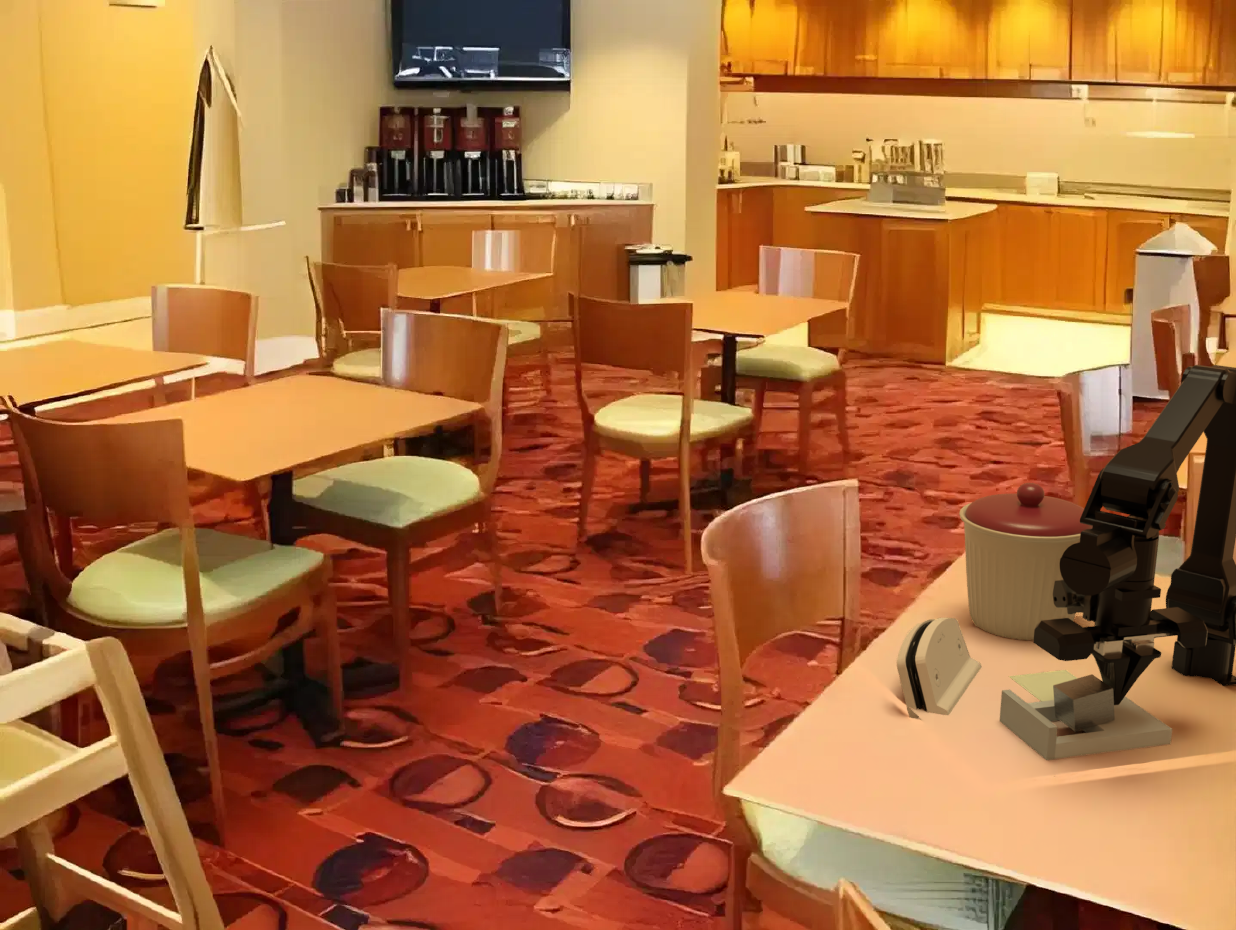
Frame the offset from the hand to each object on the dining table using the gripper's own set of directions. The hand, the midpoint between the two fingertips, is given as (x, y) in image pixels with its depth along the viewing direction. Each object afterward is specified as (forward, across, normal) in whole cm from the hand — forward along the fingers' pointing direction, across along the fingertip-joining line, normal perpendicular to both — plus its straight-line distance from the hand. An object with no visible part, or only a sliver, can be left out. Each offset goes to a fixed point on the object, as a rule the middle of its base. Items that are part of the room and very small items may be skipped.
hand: (1113, 703), depth 154 cm
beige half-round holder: (+5, +13, -16) cm, 21 cm away
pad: (+4, 0, -12) cm, 13 cm away
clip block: (+1, +4, 0) cm, 4 cm away
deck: (+4, +3, 0) cm, 5 cm away
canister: (+4, -7, -32) cm, 33 cm away
